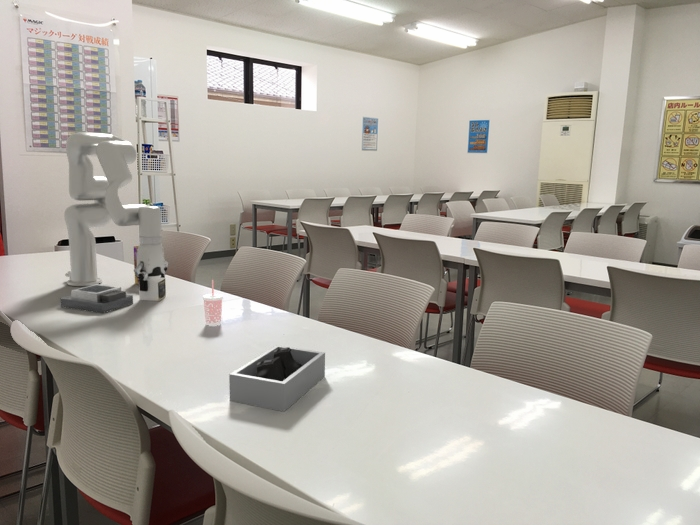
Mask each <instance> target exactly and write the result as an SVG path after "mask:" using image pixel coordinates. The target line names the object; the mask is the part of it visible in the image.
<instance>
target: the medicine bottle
mask: <svg viewBox="0 0 700 525" xmlns="http://www.w3.org/2000/svg"><path fill="white" fill-rule="evenodd" d="M145 272H146V271H145ZM143 276H144V274H143ZM160 277H161V267H155V268H154V269H153V271H152V273H150V274H148V276H147V279H146V280H147V281H148V291H140V288H138V290H139V291H138V292H139V293H138V294H139V301H149V302H151V301H152V302H153V301H154V302H155V301H156V302H160V301H161V300H163V299H164V298H165V297H166V296H167V290H166V277H165V278H160Z"/></svg>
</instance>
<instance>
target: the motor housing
mask: <svg viewBox="0 0 700 525" xmlns="http://www.w3.org/2000/svg"><path fill="white" fill-rule="evenodd" d="M70 291H71V294H70V295H68V296H64V297H61V298H60V299H59V300H60V307H61V308H64V307H66V309H71V308H72V310H78V309H79V311H84V310H86V311H85V312H91V311H93V313H99V314H104V312H105V313H108V312H111V311H114V309H115V310H117V309H121V308H123V307H127V306H129V305H133V304H134V297H133V296H134V295H133V294H127V292H126V291H125V290H122V286H115V285H108V284H107V285H105V284H101V283H100V284H95V285H90V286H82V287H78V288H75V289H71V290H70ZM110 310H111V311H110ZM107 311H108V312H107Z"/></svg>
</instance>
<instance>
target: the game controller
mask: <svg viewBox="0 0 700 525" xmlns="http://www.w3.org/2000/svg"><path fill="white" fill-rule="evenodd" d="M286 347H287V348H282V349H281V350H280V349H277V350H275V351H274V359H273V360H265V362H264V361H262V362H259V363H258V364H257V372H256V377H260V378H266V379H271V380H277V381H284V380H285V379H286V378H288V377H289V376H290V375H292V374H293V373H294V372H296V371H297V370H298V369H299V368H301V367H302V366H303V365H301V364H299V363H298V362H296V361H295V360H294V359H293V357H292V354H291V352H290V351H291V350H292V349H290V348H289V347H290V346H286Z"/></svg>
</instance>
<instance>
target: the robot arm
mask: <svg viewBox="0 0 700 525" xmlns="http://www.w3.org/2000/svg"><path fill="white" fill-rule="evenodd" d="M65 152H66V156H67V160H68V193H69V196H70V198H71V199H73V200H74V201H77V202H78V201H82V202H83V201H85V202H86V201H87V202H89V201H94V202H91V203H76V204H72V205H69V206H68V207H66V208H65V210H64V213H63V216H64V221H65V225H66V229H67V234H68V235H67V236H68V246H69V262H70V271H67V272H66V273H65V274H64V275H65V277H68V278H69V280H67V281H66V283H67V285H68V286H72V287H87V286H91V285H95V284H99V283H100V284H102V282H103V279H102V278H101V277H98V263H97V262H98V261H97V245H96V243H97V242H96V237H95V235H94V233H93V232H92V231H91V228H98V227H99V228H100V227H105V226H108V225H109V224H110V223H111V221H112V222H113V223H114V224H115V225H116V226H118V227H131V226H132V227H133V226H138V233H139V237H138V238H139V245H137V246H138V251H137V267H136V268H135V269H133V272H134V275H135V274H136V277H137V278H138V280H139V284H138V287H139V288H140V291H148V281H147V280H146V279H147V276H148V274H150V273H152V271H153V269H154V268H155V267H161V277H160V278H165V279H166V277H165V276H166V275H167V271H168V265H169V262H168V261H167V260H165V250H164V246H163V243H162V242H163V240H162V239H163V238H162V237H163V233H162V212H161V211H162V210H161V208H160V207H159V206H156V205H148V204H144V203H137V204H132V203H131V204H122V202H121V200H120V197H119V195H118V194H119V192H118V191H119V190H120V189H122V188H123V187H125V186H127V185H128V184H130V182H132V180H133V174H132V172H131V171H130V170H131V169H130V168H129V166H128V165H130V164H134V162H135V161H136V160H137V150H136V148H135V146H134V145H133V144H132V143H131V142H130V141H129V140H125V138H124V139H123V138H121V137H119V136H117V135H114V134H110V133H102V132H89V131H88V132H87V131H86V132H85V131H80V132H79V131H78V132H74V133H71V134H70V135H69V136H68V137H67V139H66V142H65ZM89 156H95V157H97V158H98V162H99V163H100V166H101V169H102V171H103V173H104V175H105V176H102V175H94V164H93V162H92V160H91V158H90V157H89ZM145 271H146V272H145ZM143 274H144V276H143ZM139 288H138V289H139Z"/></svg>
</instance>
